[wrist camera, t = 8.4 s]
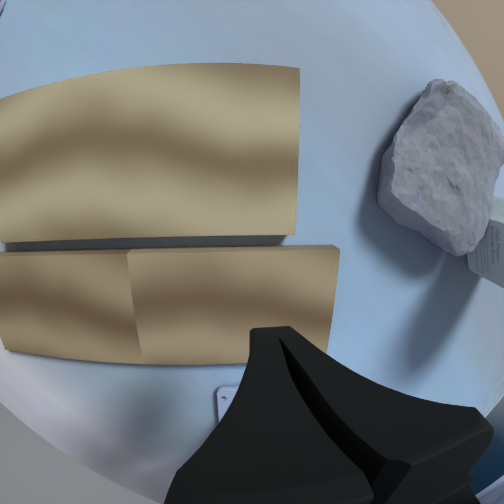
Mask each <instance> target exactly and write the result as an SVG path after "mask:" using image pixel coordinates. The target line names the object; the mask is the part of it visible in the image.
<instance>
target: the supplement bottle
mask: <svg viewBox="0 0 504 504" xmlns="http://www.w3.org/2000/svg"><path fill="white" fill-rule="evenodd" d="M5 1H6V0H0V13H1V11H2V9H3V7H4V5H5Z"/></svg>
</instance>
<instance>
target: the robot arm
mask: <svg viewBox="0 0 504 504" xmlns="http://www.w3.org/2000/svg"><path fill="white" fill-rule="evenodd" d="M223 396H224V397H225V398H222V397H223ZM217 404H218V417H219V424H218V425H217V426H216V428H215V429H214V430H213V432H212V433H211V434H210V436H209V437H208V438H207V439H206V441H205V442H204V443H203V445H202V446H201V447H200V448H199V449H198V450H197V451H196V452H195V453H194V454H193V455H192V457H191V458H190V459H189V460H188V461H187V462H186V463H185V464H184V465H183V466H182V467H181V468H180V469H179V470H178V471H177V472H176V474H175V476H174V479H173V481H172V483H171V485H170V488H169V490H168V493H167V496H166V498H165V502H164V504H504V475H503V476H502V477H501V478H499V479H498V480H497V481H495V482H494V483H493V484H491V485H490V486H488V487H487V488H486V489H484V490H483V491H481V492H480V493H478V494H477V495H475V494H474V493H473V491H472V490H471V488H470V487H469V485H471V484H472V482H473V478H472V477H471V476H470V475H469V473H468V472H469V471H470V469H471V468H472V467H473V466H474V464H475V463H476V462H477V460H478V459H479V458H480V457H481V456H482V454H483V453H484V452H485V450H486V449H487V447H488V446H489V444H490V442H491V440H492V438H493V434H494V428H493V427H492V426H491V424H490V423H489V422H488V421H487V420H486V419H485V418H484V417H483V415H482V414H481V413H480V412H479V411H478V410H477V409H476V408H475V407H466V406H458V405H450V404H443V403H437V402H433V401H429V400H424V399H420V398H417V397H413V396H410V395H406V394H404V393H401V392H398V391H395V390H392V389H390V388H387V387H385V386H382V385H380V384H377V383H375V382H373V381H371V380H369V379H367V378H365V377H363V376H361V375H359V374H357V373H355V372H354V371H352V370H350V369H349V368H347V367H345V366H344V365H342V364H340V363H339V362H337V361H336V360H334V359H333V358H331V357H330V356H328V355H327V354H326V353H324V352H323V351H321V350H320V349H319V348H317V347H316V346H315V345H314V344H312V343H311V342H310V341H308V340H307V339H306V338H305V337H303V336H302V335H301V334H300V333H298V332H297V331H296V330H295V329H293V328H292V327H291V326H278V327H261V328H252V329H251V330H250V335H249V358H248V362H247V366H246V369H245V372H244V375H243V377H242V380H241V383H240V385H239V386H232V387H220V388H218V389H217Z"/></svg>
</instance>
